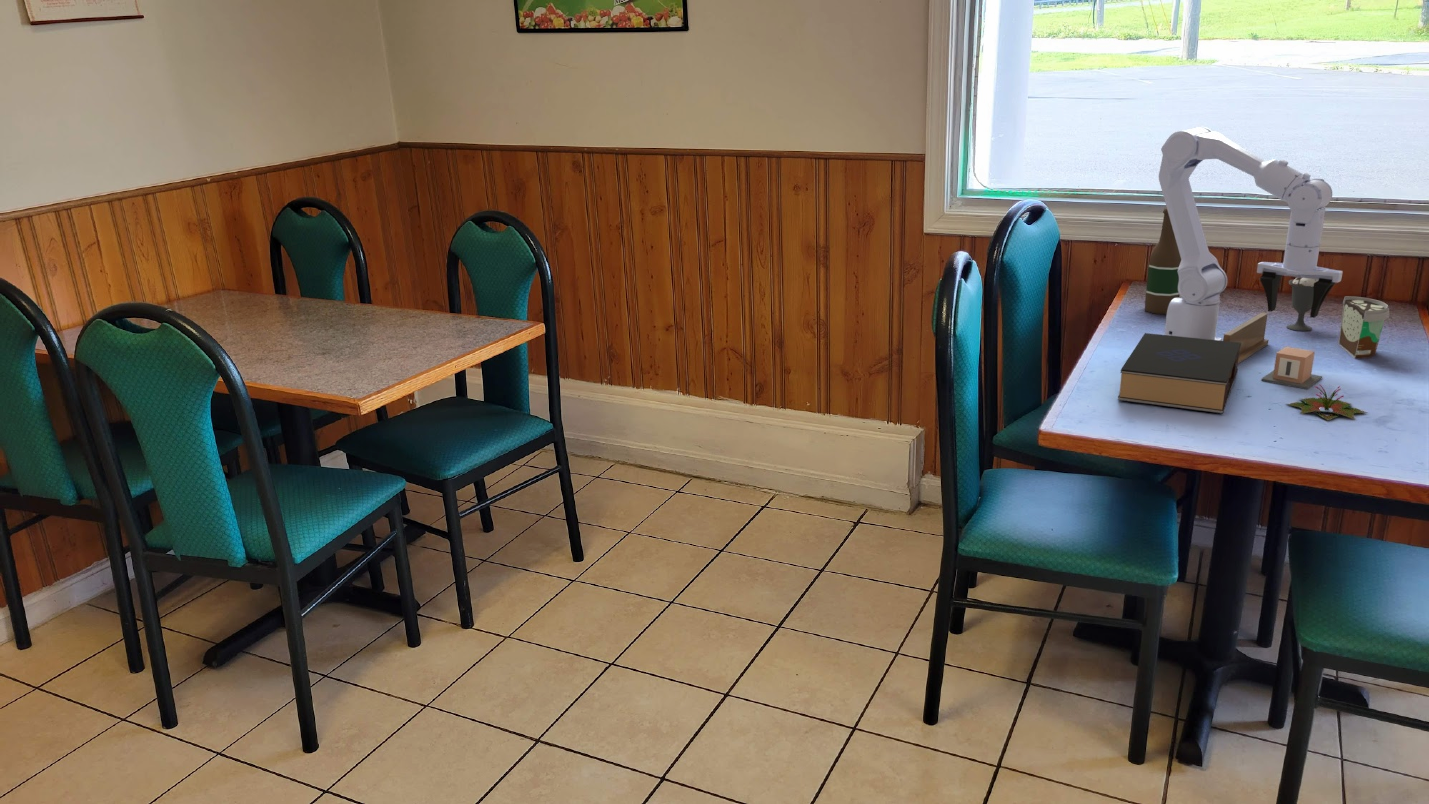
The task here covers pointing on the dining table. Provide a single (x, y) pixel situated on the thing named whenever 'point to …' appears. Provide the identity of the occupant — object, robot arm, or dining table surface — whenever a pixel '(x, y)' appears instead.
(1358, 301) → the food container
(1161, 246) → the beer bottle
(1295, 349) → the letter cube
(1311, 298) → the sundae
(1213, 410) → the book
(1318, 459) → the dining table surface
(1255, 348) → the walnut screen
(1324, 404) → the lily flower
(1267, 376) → the charcoal pad
